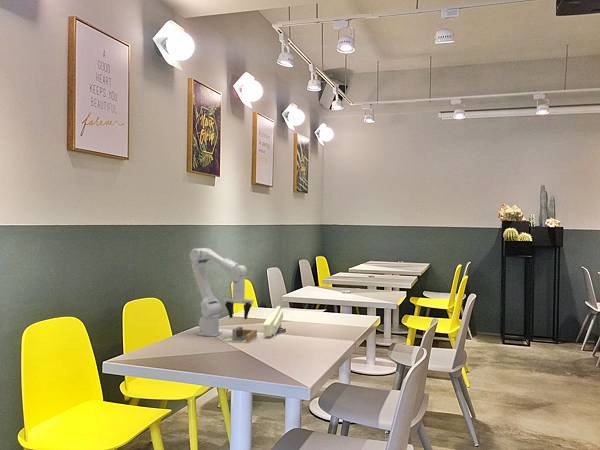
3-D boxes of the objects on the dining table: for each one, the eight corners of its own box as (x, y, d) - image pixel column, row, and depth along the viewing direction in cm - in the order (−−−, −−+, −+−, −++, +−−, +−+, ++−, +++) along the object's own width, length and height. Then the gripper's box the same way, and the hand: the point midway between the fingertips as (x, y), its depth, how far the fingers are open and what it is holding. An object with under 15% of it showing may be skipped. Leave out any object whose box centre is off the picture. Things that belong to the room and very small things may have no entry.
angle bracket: (238, 336, 245) (238, 326, 245) (248, 337, 244) (248, 327, 244) (232, 340, 238) (232, 329, 238) (242, 341, 236) (242, 330, 236)
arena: (224, 341, 238) (224, 333, 238) (233, 336, 250) (233, 328, 250) (248, 343, 235) (248, 335, 235) (256, 337, 247) (256, 330, 247)
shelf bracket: (285, 328, 271) (284, 306, 268) (273, 348, 247) (271, 324, 244) (275, 327, 272) (274, 305, 270) (262, 347, 248) (261, 323, 246)
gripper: (221, 290, 243) (221, 318, 243) (249, 292, 239) (249, 320, 239) (227, 288, 250) (227, 316, 250) (255, 290, 246) (254, 318, 246)
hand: (238, 318), depth 245 cm, fingers open, 7 cm apart
